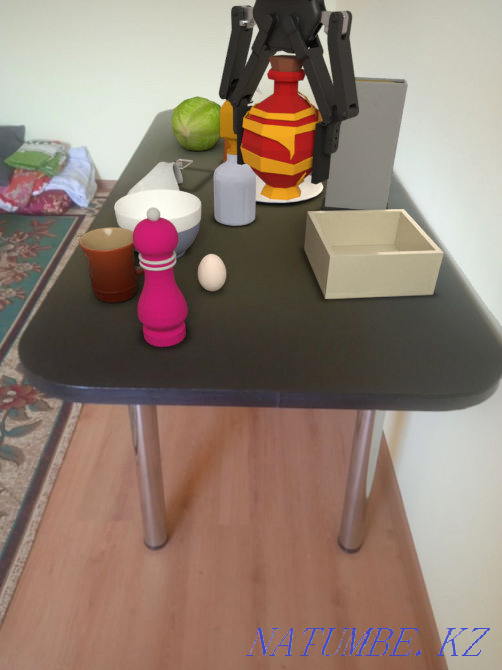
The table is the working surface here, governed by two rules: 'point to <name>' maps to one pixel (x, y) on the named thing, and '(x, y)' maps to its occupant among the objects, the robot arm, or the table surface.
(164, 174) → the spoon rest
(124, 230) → the mug
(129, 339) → the table surface
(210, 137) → the lettuce
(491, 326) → the table surface
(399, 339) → the table surface
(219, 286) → the egg
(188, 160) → the binder clip
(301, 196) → the plate
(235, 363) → the table surface
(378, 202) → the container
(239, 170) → the white cleaner bottle
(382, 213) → the cream open box
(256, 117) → the potion bottle
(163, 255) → the pepper mill
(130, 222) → the bowl
